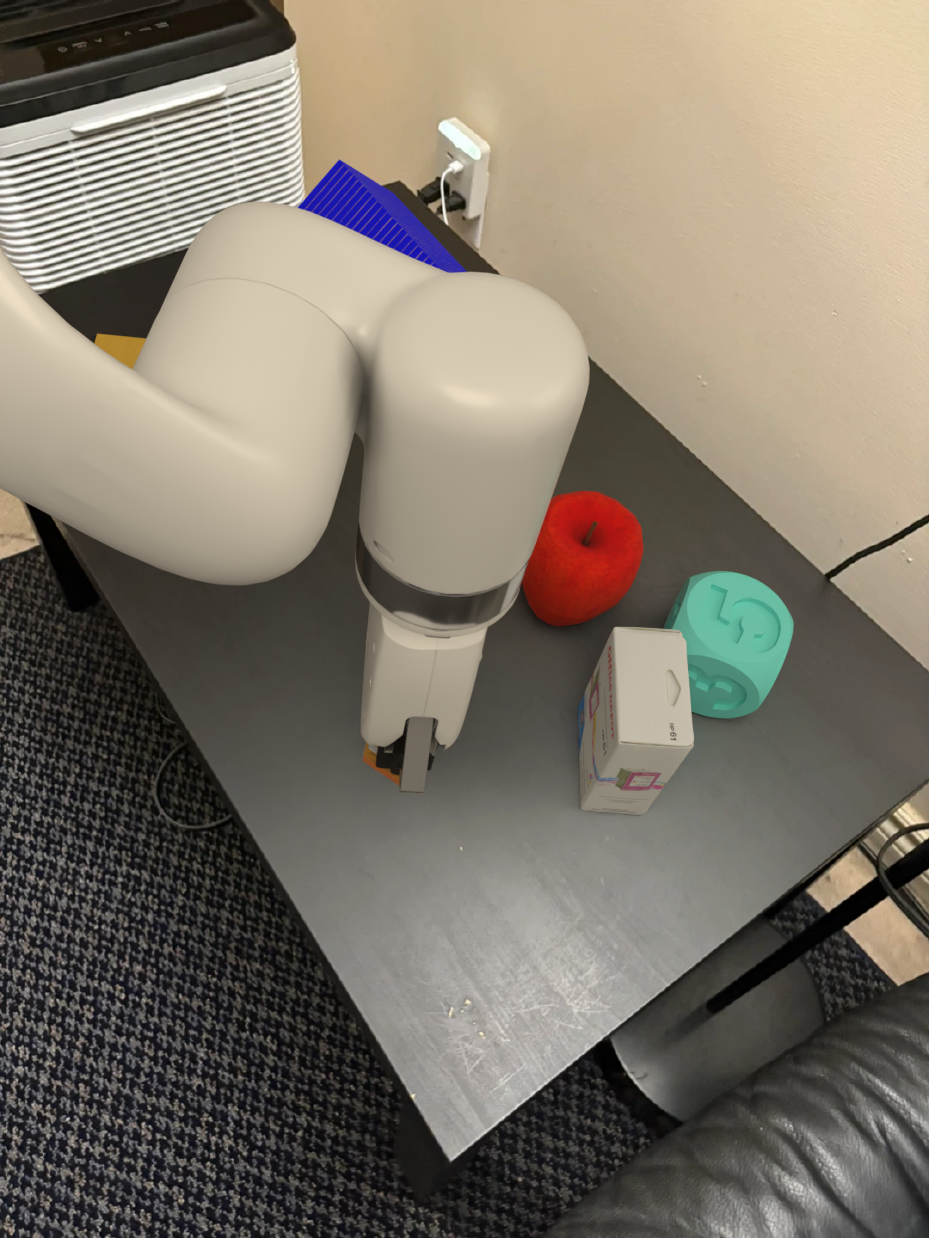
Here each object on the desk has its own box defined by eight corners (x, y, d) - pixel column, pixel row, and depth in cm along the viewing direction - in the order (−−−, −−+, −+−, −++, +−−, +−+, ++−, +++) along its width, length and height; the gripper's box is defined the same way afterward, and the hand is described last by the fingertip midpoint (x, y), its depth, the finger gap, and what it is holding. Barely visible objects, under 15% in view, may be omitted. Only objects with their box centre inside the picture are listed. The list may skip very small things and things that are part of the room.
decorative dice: (667, 612, 78) (700, 554, 72) (761, 650, 77) (803, 596, 71) (639, 691, 74) (670, 637, 67) (738, 733, 73) (780, 683, 66)
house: (389, 252, 97) (396, 143, 88) (503, 380, 90) (526, 276, 80) (283, 287, 93) (278, 176, 83) (394, 425, 85) (403, 321, 75)
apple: (567, 674, 74) (601, 597, 65) (483, 604, 76) (505, 520, 67) (636, 608, 78) (677, 526, 69) (554, 543, 81) (583, 456, 71)
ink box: (573, 703, 73) (612, 621, 63) (638, 709, 73) (688, 628, 63) (576, 812, 68) (619, 741, 58) (646, 817, 69) (700, 748, 59)
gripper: (369, 396, 46) (351, 602, 62) (341, 713, 37) (329, 862, 53) (524, 413, 47) (468, 613, 62) (533, 727, 38) (465, 869, 53)
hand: (405, 725), depth 57 cm, fingers closed on supplement box, 4 cm apart
